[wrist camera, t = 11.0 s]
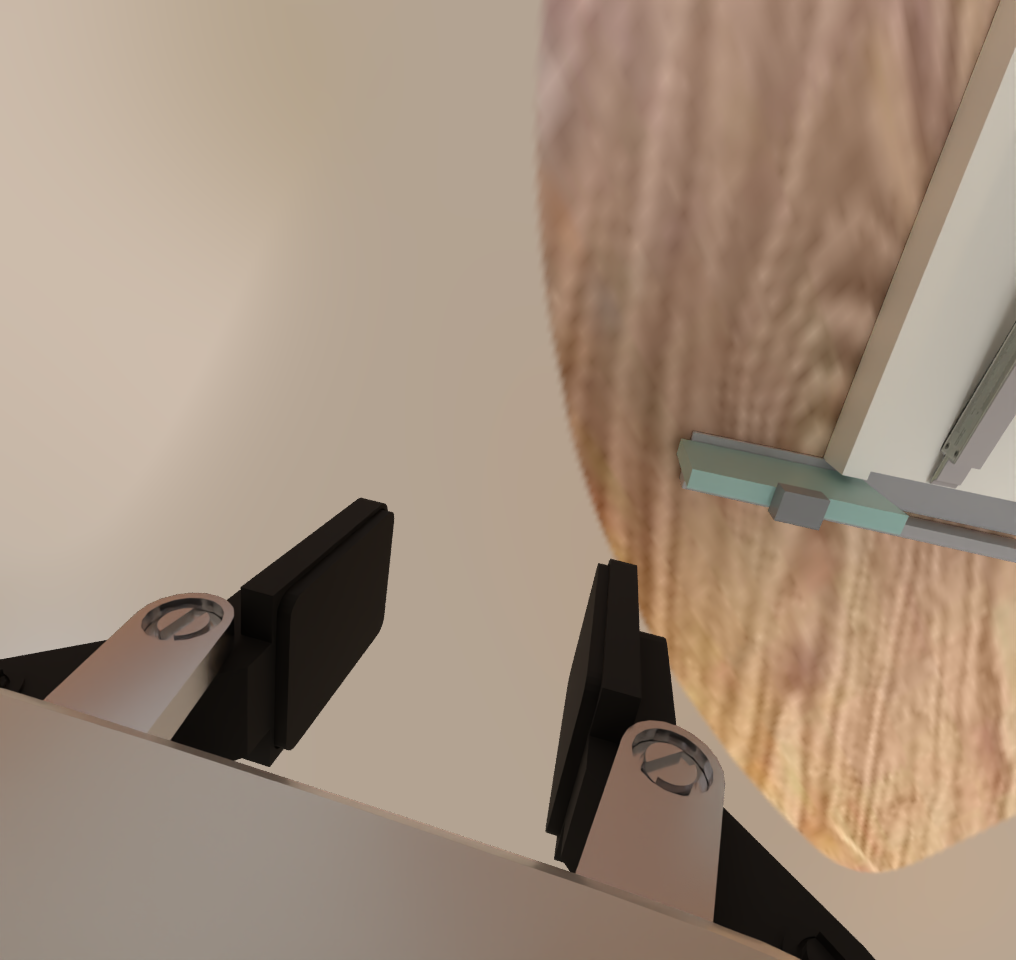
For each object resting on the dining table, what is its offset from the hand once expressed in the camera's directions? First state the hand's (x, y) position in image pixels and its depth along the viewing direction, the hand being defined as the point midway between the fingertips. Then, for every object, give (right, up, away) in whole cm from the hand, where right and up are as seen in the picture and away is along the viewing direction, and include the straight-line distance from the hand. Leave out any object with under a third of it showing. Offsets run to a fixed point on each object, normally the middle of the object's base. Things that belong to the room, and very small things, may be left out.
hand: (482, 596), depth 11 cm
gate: (+13, +3, +14) cm, 19 cm away
